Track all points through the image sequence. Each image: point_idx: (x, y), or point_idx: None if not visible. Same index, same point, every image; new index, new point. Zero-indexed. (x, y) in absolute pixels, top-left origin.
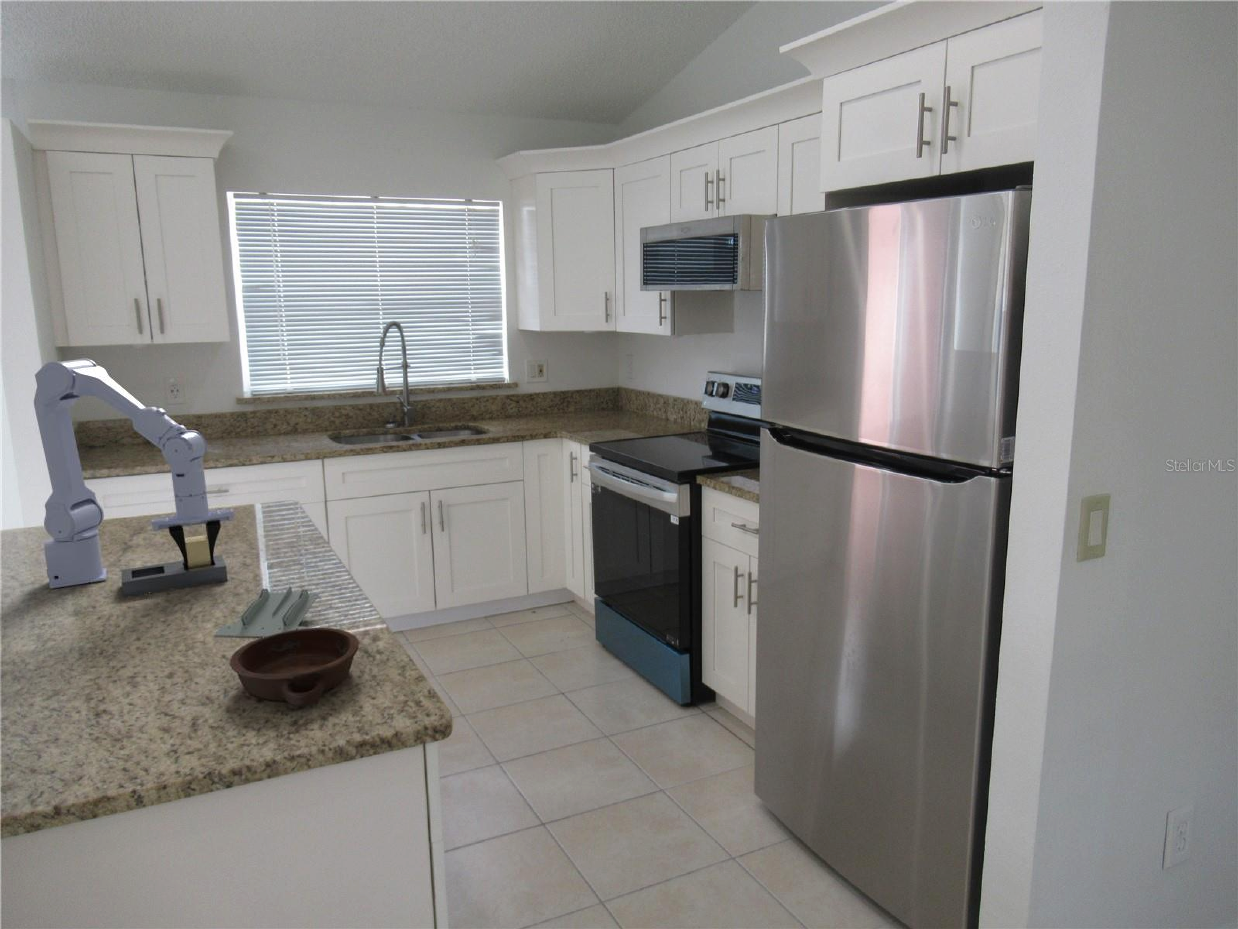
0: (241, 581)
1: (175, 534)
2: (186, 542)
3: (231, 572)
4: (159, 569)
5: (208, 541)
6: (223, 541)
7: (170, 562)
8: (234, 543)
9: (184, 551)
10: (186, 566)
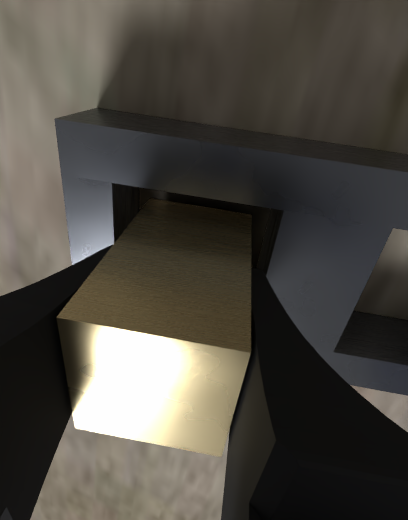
0: (29, 34)
1: (394, 458)
2: (241, 356)
3: None
4: (348, 344)
5: None
6: (93, 486)
7: None
8: (68, 463)
9: (264, 306)
10: None
